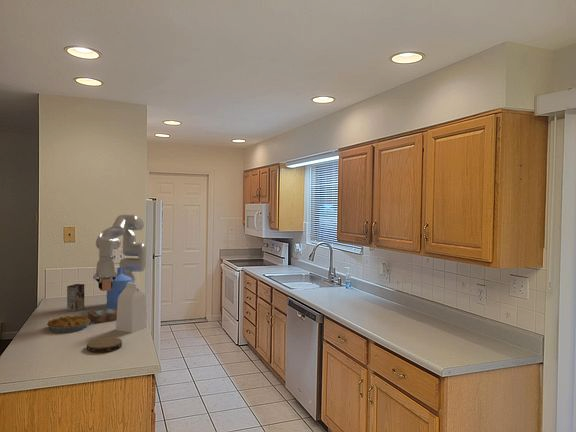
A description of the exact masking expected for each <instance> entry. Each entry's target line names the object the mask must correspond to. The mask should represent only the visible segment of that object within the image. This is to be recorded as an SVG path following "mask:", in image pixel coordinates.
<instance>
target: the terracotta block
mask: <svg viewBox="0 0 576 432" xmlns="http://www.w3.org/2000/svg"><path fill="white" fill-rule="evenodd" d="M101 283H102V289H99V291H101V292H107V291H108V290H111V278H109V277H108V278H102V281H101Z"/></svg>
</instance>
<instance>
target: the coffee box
mask: <svg viewBox="0 0 576 432" xmlns="http://www.w3.org/2000/svg"><path fill="white" fill-rule="evenodd" d="M84 308H85V284H82V283H75V284H71V285H67V286H66V310H67V311H69V312H78V311H80V310H82V309H84Z"/></svg>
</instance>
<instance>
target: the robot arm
mask: <svg viewBox="0 0 576 432" xmlns="http://www.w3.org/2000/svg"><path fill="white" fill-rule="evenodd" d="M144 225H145V223H144V219H143V218H141V217H140V216H138V215H135V214H120V215H118V216H117V217H116V218H115V221H114V222H113V224H112V226H110V227H108V228H106V229H104V230H102V231H101V232H100V233H99V235H98V236H97V238H96V241H95V247H96V248H97V249H98V251H99V252H98V254H99V255H98V261H97V263H96V268H95V274H94V275H93V276H92V279H94V280H95V281H96V282H97V283H98V285H97V286H98V289H99V290H100V289H102V283H101V281H102V278H111V288H112V282H113V281H114V279H115V278H116V277H118V275H117V271H116V270H115V269H116V268H115V260H114V259H116V257H115V256H114V254H113V250H118V249H119V248H120V246H121V244H122V255H123V256H126V257H124V258H122V259H120V261H119V267H118V268H122V274H123V275H126V276H128V277H130V278H132V283H136V278H135V277H136V276H135V275H134V272H135V273H136V272H137V273H142V272H144V271H145V270H146V262H147V246H146V244H145V243H143V242H136V238H137V237H136V233H135V232H134V231H142V230H143V228H144ZM118 237H122V241H121V239H120V238H118ZM121 242H122V243H121ZM112 277H113V278H112Z"/></svg>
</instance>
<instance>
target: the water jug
mask: <svg viewBox="0 0 576 432" xmlns="http://www.w3.org/2000/svg"><path fill="white" fill-rule="evenodd" d="M116 274H117V275H118V277H116V278H115V279H114V281H113V282H112V288H111V290H108V291H106V307H105V309H112V308H115V309H117V305H118V297H119V295H120V294H121V292H122V291H123V290H124V289H125V288H126V285H127V283H129V282H130V283H132V278H130V277H128V276H126V275H123V274H122V268H120V267H117V268H116ZM112 278H113V277H112Z"/></svg>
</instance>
